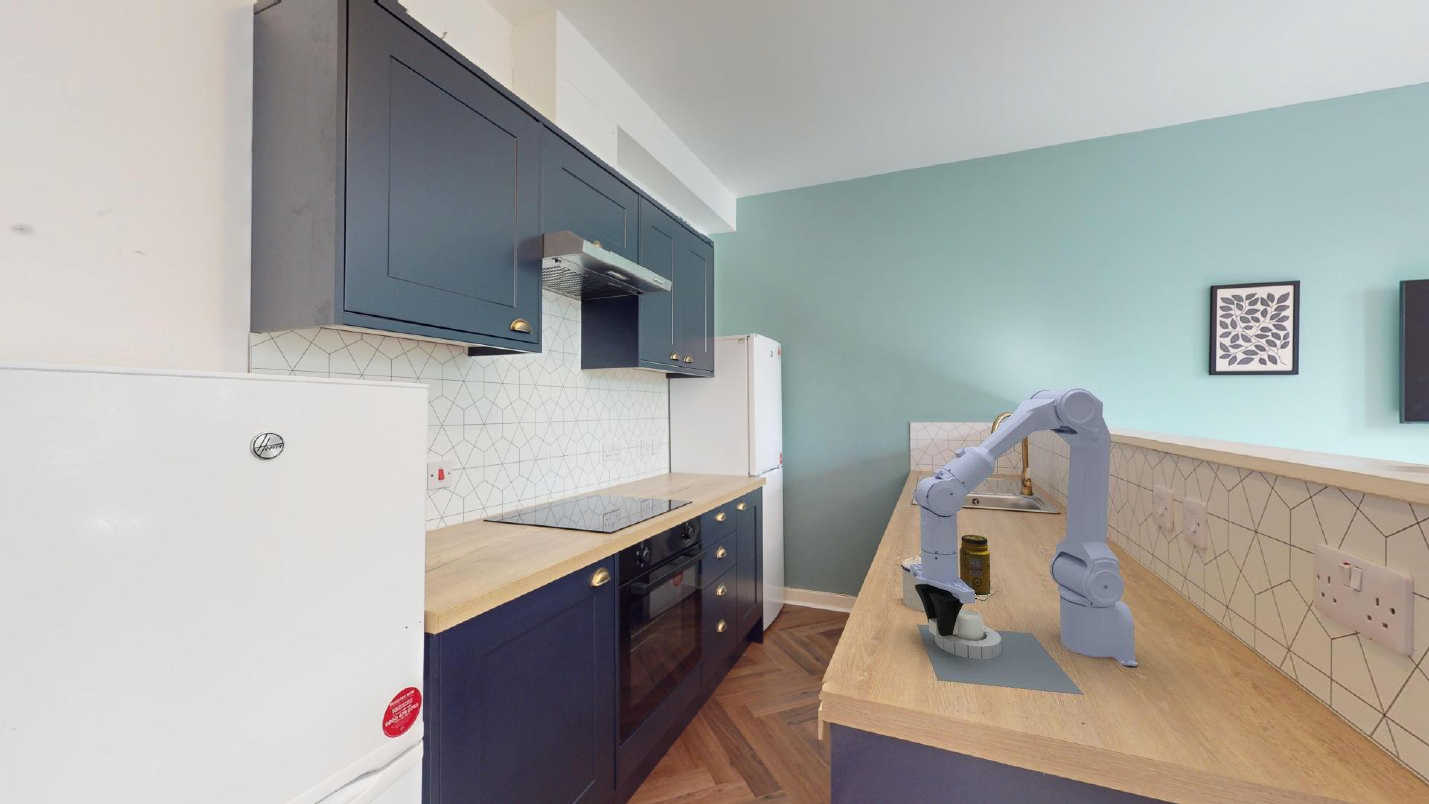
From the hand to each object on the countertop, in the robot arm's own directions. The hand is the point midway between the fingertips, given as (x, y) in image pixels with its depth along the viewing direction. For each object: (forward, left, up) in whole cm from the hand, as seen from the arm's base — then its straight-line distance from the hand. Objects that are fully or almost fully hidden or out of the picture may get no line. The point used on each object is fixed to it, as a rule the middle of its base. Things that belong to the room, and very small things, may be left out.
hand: (941, 631), depth 86 cm
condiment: (-12, -32, -4) cm, 35 cm away
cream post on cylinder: (-3, -1, -3) cm, 4 cm away
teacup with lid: (-1, -21, -4) cm, 21 cm away
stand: (-7, +1, -4) cm, 8 cm away
